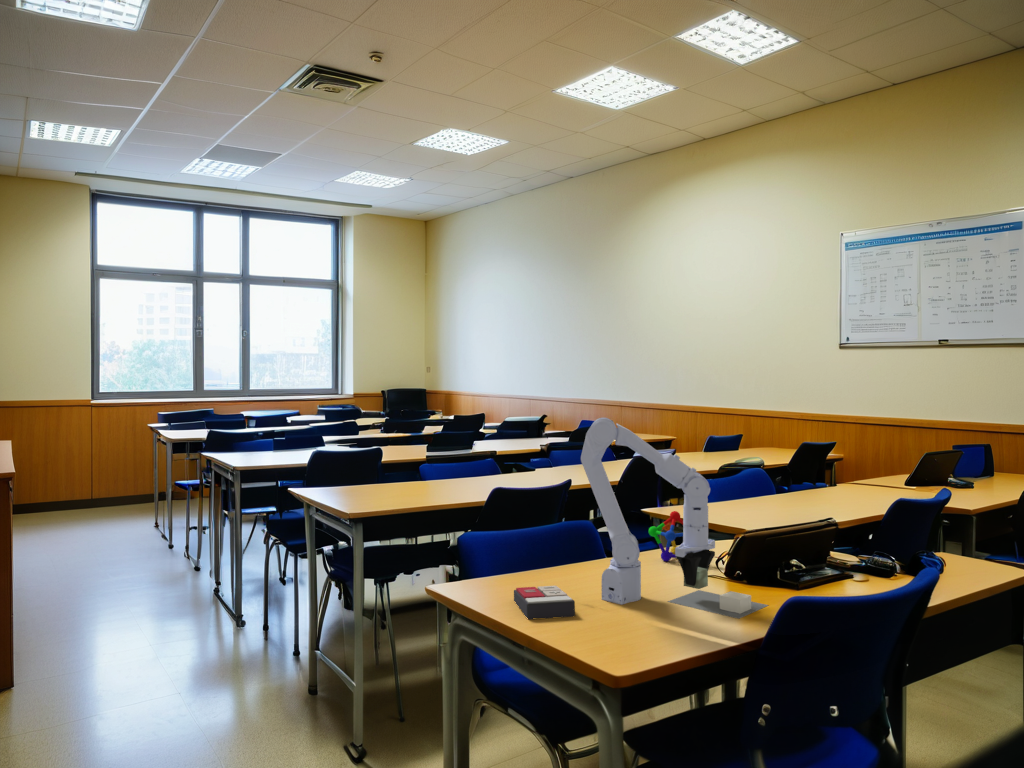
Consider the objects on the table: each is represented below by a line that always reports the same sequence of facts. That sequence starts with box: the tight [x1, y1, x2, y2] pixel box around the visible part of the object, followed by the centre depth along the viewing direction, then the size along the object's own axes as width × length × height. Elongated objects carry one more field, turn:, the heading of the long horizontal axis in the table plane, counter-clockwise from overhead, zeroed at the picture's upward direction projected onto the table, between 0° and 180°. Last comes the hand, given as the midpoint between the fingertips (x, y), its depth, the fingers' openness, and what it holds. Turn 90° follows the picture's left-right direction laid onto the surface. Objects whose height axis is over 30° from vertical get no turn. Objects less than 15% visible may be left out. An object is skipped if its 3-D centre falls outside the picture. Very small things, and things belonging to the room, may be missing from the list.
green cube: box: [683, 567, 709, 590], centre depth 167 cm, size 4×4×4 cm
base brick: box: [719, 590, 752, 614], centre depth 160 cm, size 5×5×3 cm
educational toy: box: [648, 510, 683, 562], centre depth 212 cm, size 16×13×15 cm
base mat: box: [667, 589, 770, 620], centre depth 164 cm, size 14×18×1 cm
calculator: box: [513, 585, 576, 620], centre depth 164 cm, size 11×4×15 cm
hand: (695, 583), depth 167 cm, fingers closed on green cube, 4 cm apart
